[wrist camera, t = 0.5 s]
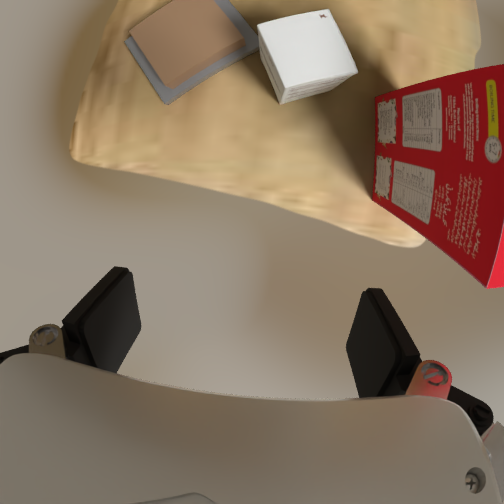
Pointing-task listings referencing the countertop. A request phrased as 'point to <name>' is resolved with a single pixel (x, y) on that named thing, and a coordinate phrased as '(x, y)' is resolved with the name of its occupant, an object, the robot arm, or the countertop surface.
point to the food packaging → (447, 165)
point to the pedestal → (190, 44)
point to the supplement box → (304, 55)
